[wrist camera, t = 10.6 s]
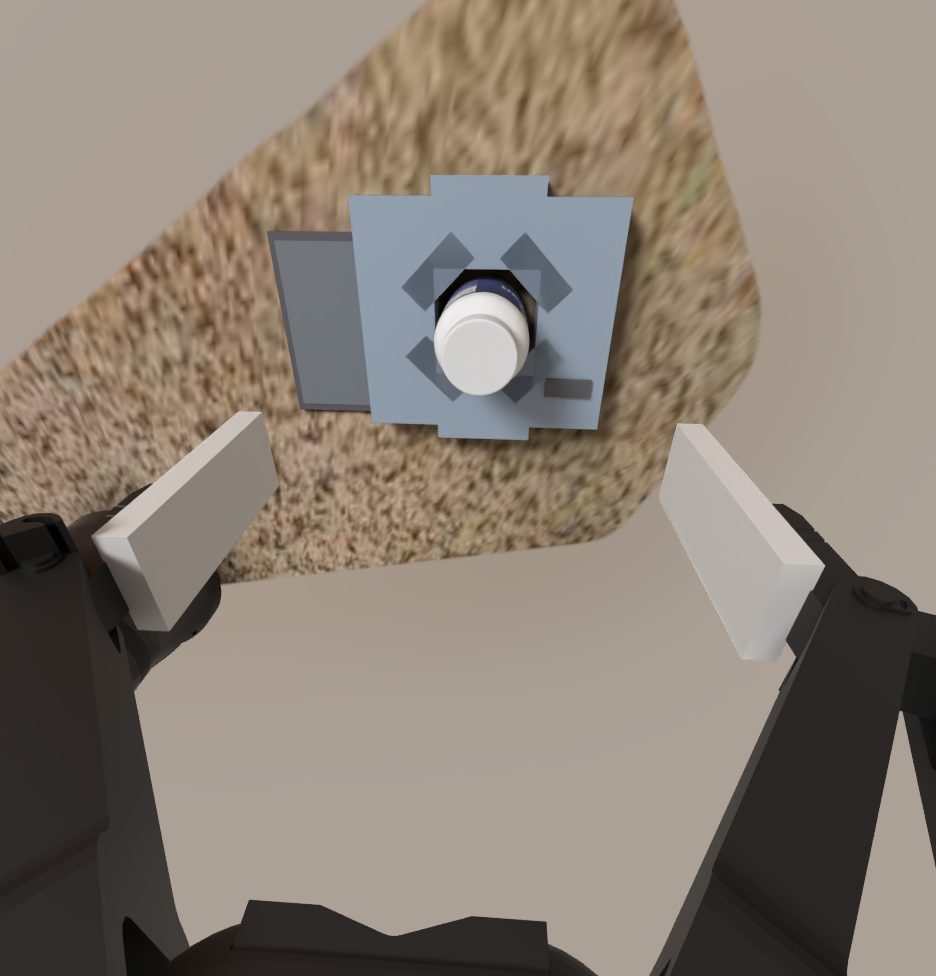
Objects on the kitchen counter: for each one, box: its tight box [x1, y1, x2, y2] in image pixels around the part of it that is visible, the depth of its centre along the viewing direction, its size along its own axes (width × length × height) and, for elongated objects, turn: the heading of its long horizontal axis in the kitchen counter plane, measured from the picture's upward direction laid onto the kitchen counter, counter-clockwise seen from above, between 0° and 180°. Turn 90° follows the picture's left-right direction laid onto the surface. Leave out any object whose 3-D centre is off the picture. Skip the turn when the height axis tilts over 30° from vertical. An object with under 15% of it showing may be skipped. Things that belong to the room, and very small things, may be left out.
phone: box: [267, 231, 371, 411], centre depth 34 cm, size 12×6×1 cm, turn 0°
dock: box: [348, 175, 633, 440], centre depth 32 cm, size 16×16×3 cm
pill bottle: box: [434, 276, 529, 396], centre depth 29 cm, size 5×5×10 cm
